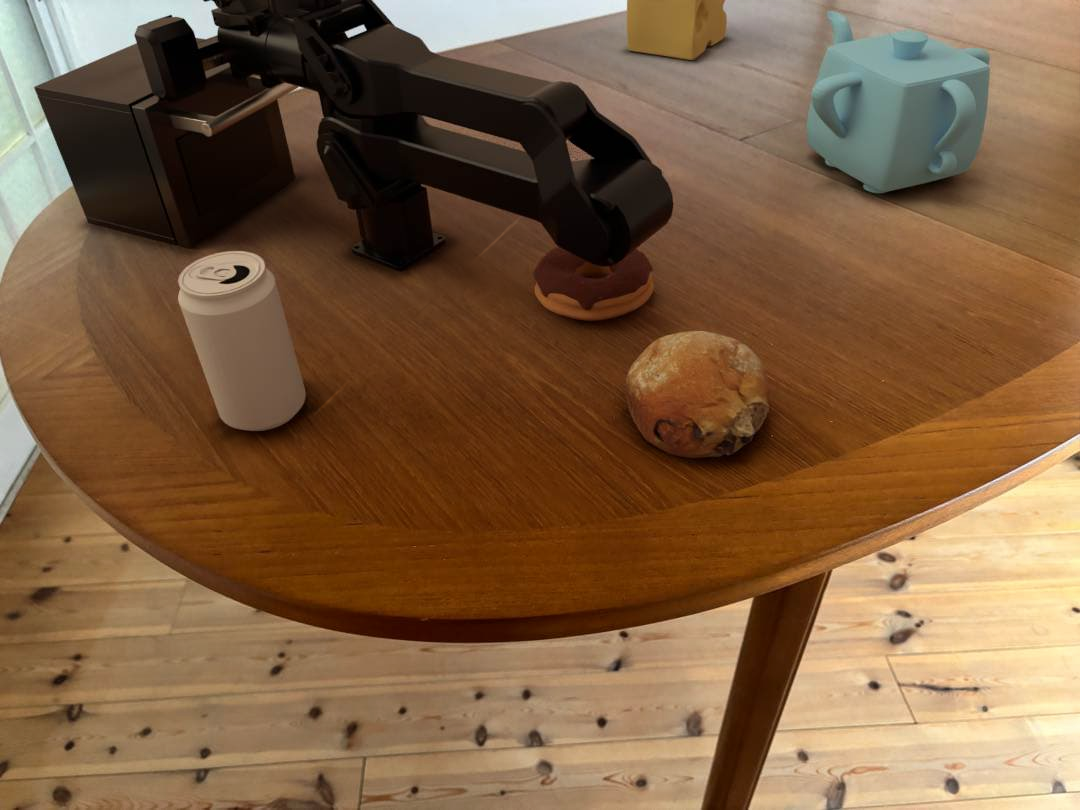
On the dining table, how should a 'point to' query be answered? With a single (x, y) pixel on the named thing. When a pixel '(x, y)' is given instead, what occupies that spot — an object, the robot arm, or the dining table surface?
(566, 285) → the donut
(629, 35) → the cheese
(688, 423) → the bread roll
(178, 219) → the oven door
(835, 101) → the teapot
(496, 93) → the robot arm
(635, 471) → the dining table surface
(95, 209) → the oven
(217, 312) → the beverage can
